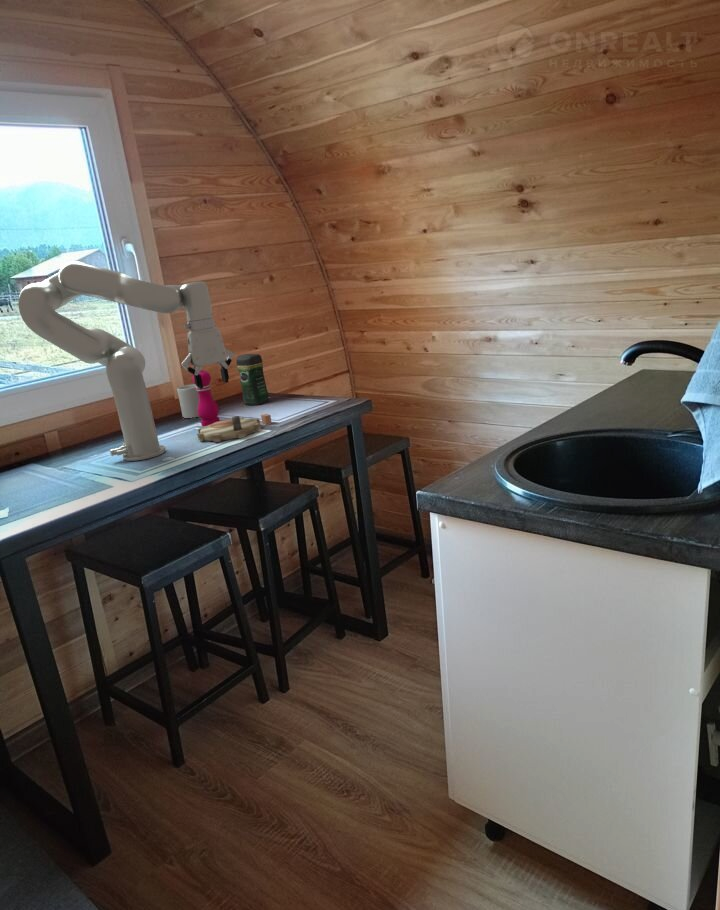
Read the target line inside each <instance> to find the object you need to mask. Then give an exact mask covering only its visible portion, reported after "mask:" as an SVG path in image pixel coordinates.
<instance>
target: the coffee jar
mask: <svg viewBox="0 0 720 910" xmlns="http://www.w3.org/2000/svg"><path fill="white" fill-rule="evenodd" d="M235 361H236V367H237V369H238V370H237V371H238V373H239V377H240V386H241V392H242V400H243V404H244V405H249V406H257V405H264V404H266V403H268V402H269V401H270V395H269V391H268V388H267V387H268V386H267V384H266V380H265V374H264V362H263V358H262V355H260V354H259V353H245V354H244V353H243V354H241V355H238V356H237V357H236V360H235Z"/></svg>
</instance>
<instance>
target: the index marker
mask: <svg viewBox="0 0 720 910" xmlns="http://www.w3.org/2000/svg"><path fill="white" fill-rule="evenodd" d="M260 416H261V417H260V418H261V423H262V425H264V424H265V426H268V424H269V425H272V424H271V423H273V422H272V417H271V414H268V413H264V414H261V415H260Z"/></svg>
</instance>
